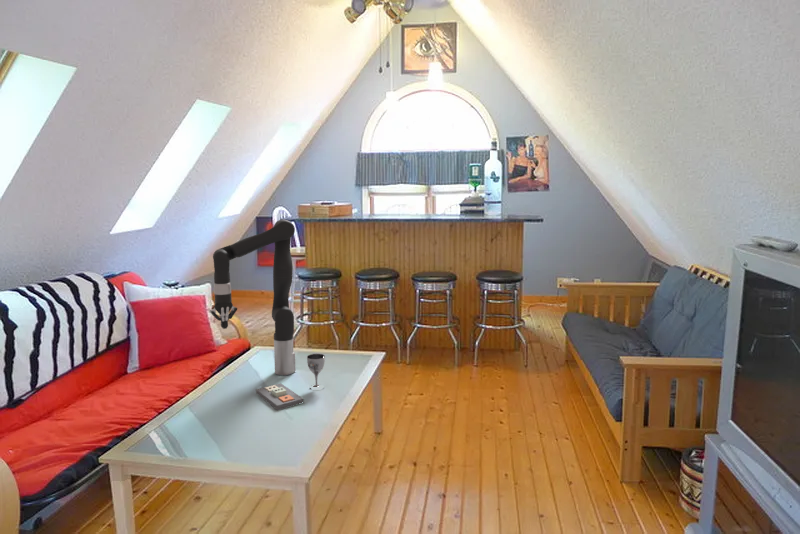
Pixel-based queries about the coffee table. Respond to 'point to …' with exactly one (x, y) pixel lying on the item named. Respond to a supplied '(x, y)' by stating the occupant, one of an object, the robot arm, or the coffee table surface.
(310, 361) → the wine glass
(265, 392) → the button board
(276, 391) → the sage button
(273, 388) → the cream button
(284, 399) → the terracotta button
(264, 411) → the coffee table surface
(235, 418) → the coffee table surface
